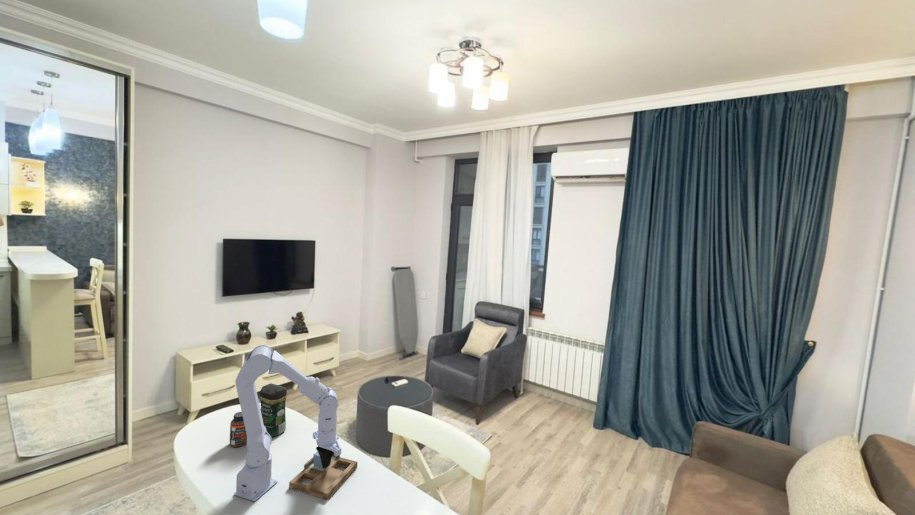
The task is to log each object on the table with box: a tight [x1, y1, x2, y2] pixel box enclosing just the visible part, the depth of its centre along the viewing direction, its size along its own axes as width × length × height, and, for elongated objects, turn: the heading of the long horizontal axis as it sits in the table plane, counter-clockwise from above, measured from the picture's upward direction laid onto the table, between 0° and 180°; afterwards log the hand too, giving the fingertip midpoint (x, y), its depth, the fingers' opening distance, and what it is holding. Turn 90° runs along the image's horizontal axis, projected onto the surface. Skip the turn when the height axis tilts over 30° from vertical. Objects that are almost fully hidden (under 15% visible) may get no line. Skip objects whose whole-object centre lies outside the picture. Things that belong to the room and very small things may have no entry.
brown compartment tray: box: [288, 453, 359, 501], centre depth 126 cm, size 17×14×4 cm
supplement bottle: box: [229, 411, 247, 448], centre depth 141 cm, size 6×6×11 cm
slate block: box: [313, 451, 331, 469], centre depth 129 cm, size 4×4×4 cm
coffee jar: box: [259, 382, 288, 438], centre depth 150 cm, size 10×8×19 cm
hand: (325, 466), depth 127 cm, fingers closed
